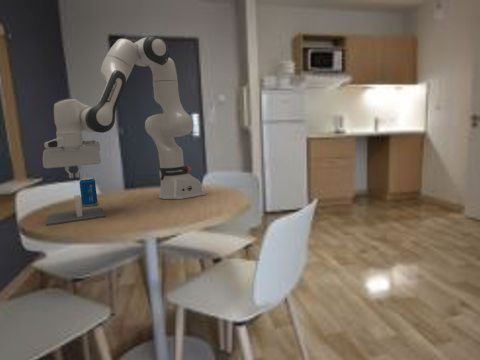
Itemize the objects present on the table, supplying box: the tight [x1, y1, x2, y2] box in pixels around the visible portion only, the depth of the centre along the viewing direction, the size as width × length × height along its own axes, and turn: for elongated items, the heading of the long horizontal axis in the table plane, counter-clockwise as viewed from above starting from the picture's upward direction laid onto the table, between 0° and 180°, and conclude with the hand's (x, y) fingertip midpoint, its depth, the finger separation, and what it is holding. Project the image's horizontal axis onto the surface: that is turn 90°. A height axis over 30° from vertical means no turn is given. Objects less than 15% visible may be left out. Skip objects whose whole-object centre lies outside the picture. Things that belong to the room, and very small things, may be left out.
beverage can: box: [78, 177, 98, 207], centre depth 161 cm, size 6×6×12 cm
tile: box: [74, 194, 83, 217], centre depth 141 cm, size 2×8×7 cm, turn 25°
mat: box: [46, 206, 107, 226], centre depth 141 cm, size 20×18×1 cm
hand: (74, 177), depth 140 cm, fingers closed
